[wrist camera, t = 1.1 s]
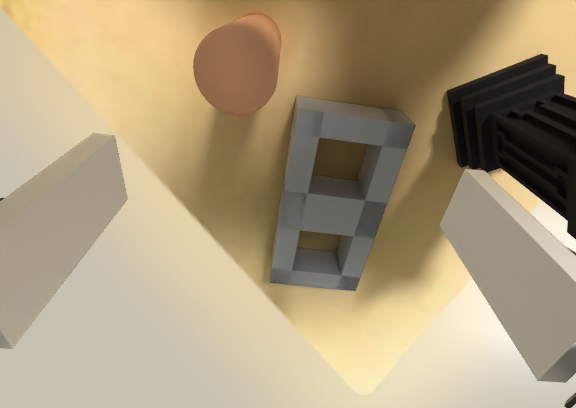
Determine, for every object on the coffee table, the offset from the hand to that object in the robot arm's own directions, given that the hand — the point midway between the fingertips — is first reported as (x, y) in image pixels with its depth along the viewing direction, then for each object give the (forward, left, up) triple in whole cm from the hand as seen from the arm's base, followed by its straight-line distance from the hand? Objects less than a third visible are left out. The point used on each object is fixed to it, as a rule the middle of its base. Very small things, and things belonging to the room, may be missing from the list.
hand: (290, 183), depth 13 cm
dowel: (-3, -3, -19) cm, 20 cm away
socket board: (+11, +6, -19) cm, 23 cm away
